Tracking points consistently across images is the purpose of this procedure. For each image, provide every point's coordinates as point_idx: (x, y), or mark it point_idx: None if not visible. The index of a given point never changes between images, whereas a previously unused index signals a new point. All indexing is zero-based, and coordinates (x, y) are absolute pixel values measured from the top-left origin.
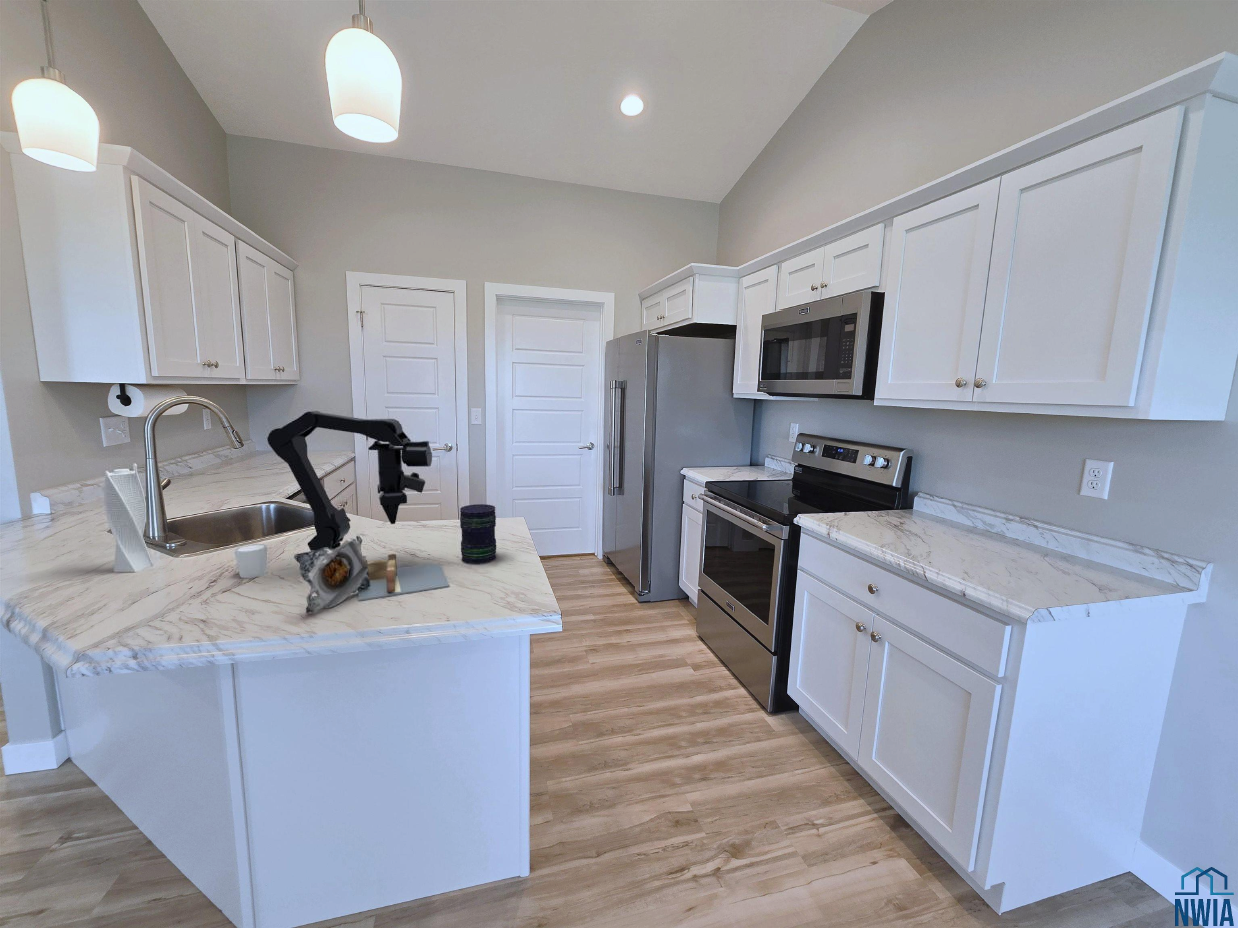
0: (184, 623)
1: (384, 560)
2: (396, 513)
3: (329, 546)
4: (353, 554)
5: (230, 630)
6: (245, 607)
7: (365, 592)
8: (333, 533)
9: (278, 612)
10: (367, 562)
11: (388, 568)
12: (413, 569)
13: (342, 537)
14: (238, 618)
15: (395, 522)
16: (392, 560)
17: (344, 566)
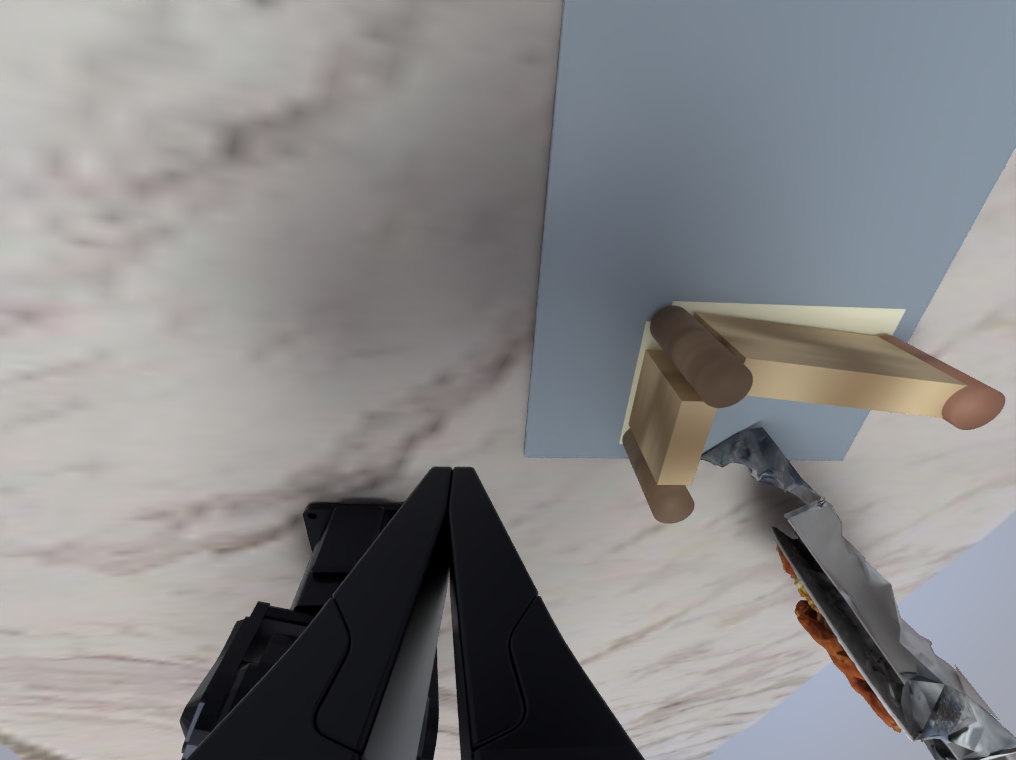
0: (662, 722)
1: (693, 410)
2: (534, 589)
3: (436, 655)
4: (862, 624)
5: (774, 668)
6: (642, 666)
7: (787, 437)
8: (435, 731)
9: (738, 616)
10: (666, 484)
11: (886, 406)
12: (616, 197)
13: (260, 622)
14: (710, 667)
15: (475, 473)
16: (754, 375)
17: (807, 595)
